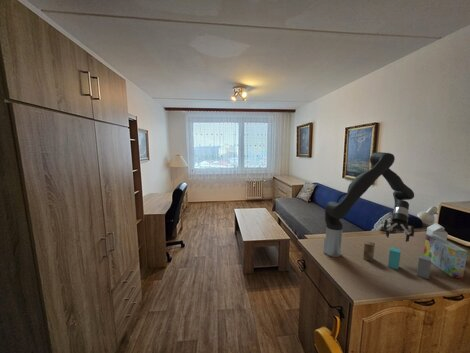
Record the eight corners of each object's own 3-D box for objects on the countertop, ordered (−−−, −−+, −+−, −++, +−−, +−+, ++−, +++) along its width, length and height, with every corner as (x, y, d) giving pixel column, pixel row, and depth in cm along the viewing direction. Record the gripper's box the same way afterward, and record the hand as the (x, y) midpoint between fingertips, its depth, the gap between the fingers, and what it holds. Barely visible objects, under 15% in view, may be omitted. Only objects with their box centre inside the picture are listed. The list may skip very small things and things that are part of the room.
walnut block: (363, 258, 120) (364, 243, 119) (364, 256, 124) (366, 240, 122) (372, 261, 117) (373, 245, 116) (373, 258, 121) (374, 243, 119)
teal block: (388, 266, 112) (389, 250, 111) (388, 263, 116) (390, 247, 114) (398, 269, 109) (400, 252, 108) (398, 266, 113) (400, 249, 111)
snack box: (464, 279, 102) (469, 251, 100) (451, 277, 103) (455, 250, 101) (432, 257, 122) (435, 234, 120) (422, 256, 123) (425, 233, 121)
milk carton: (429, 253, 126) (433, 225, 124) (424, 248, 133) (427, 221, 131) (444, 256, 124) (448, 226, 121) (438, 250, 130) (442, 222, 128)
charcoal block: (416, 275, 104) (418, 257, 103) (416, 271, 108) (418, 254, 106) (428, 279, 101) (431, 260, 100) (428, 275, 105) (430, 257, 103)
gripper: (386, 210, 127) (381, 232, 120) (416, 215, 117) (413, 240, 110) (386, 216, 132) (382, 238, 125) (415, 221, 122) (412, 245, 115)
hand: (396, 239), depth 118 cm, fingers open, 8 cm apart
